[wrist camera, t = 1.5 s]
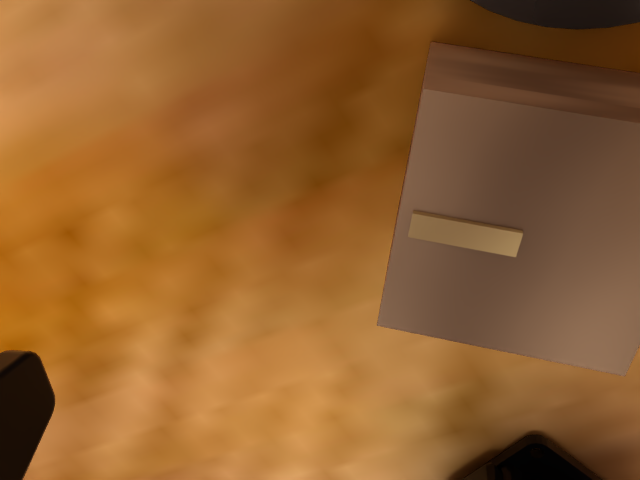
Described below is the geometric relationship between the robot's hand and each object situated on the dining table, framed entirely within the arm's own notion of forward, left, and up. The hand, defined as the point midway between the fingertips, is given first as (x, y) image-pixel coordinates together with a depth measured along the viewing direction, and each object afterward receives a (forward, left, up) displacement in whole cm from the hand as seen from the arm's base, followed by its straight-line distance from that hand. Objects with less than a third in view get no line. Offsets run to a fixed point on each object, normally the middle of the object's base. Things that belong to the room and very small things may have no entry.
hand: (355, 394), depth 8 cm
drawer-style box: (-3, -1, -12) cm, 12 cm away
